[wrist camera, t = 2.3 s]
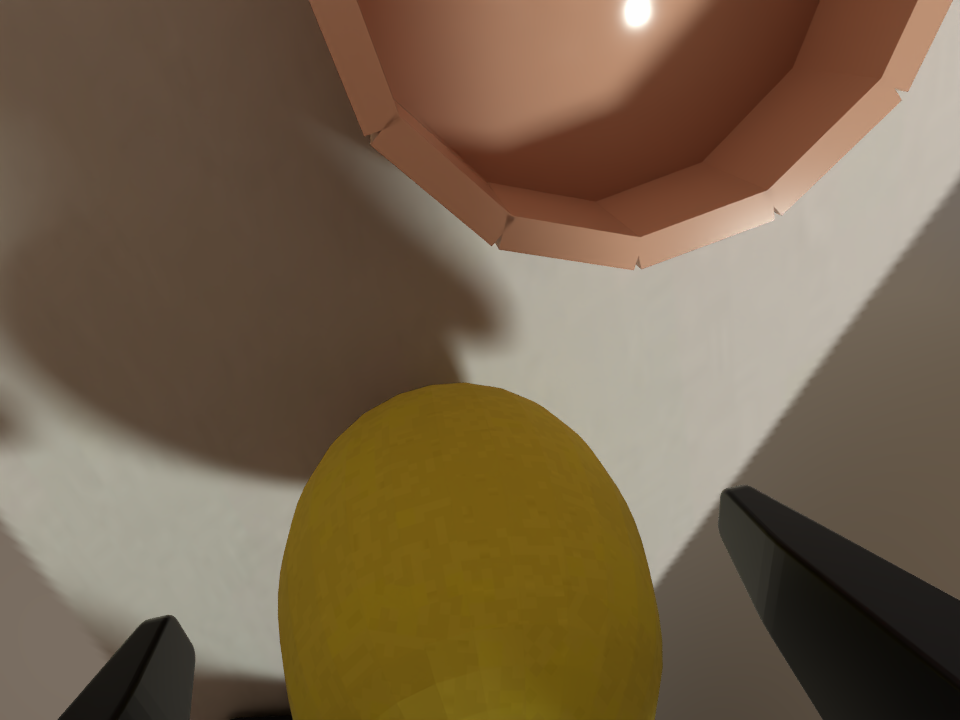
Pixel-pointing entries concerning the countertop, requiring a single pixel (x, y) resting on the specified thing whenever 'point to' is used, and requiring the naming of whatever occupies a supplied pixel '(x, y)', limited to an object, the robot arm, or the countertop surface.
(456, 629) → the lemon
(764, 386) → the countertop surface
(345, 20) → the dish
